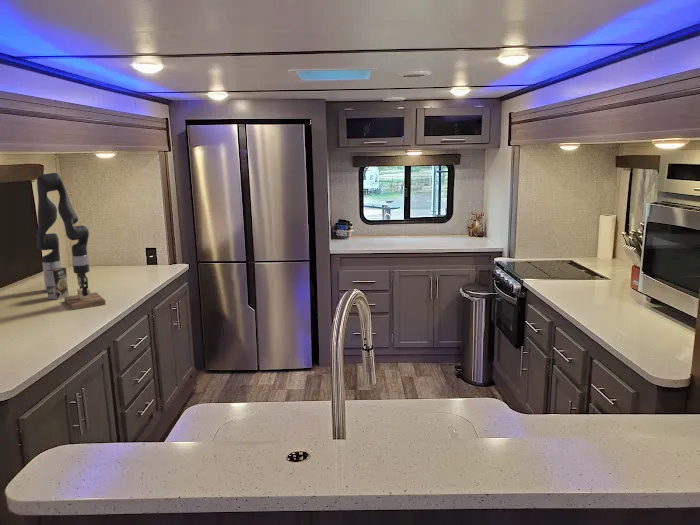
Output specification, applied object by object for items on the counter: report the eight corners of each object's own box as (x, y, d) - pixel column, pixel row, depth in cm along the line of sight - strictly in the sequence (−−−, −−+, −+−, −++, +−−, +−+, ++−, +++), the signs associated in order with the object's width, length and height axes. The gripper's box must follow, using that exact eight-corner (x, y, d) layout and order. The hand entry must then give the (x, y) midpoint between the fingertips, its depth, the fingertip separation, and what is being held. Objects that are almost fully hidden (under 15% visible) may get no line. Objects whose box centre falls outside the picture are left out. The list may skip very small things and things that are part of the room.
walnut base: (64, 301, 297) (64, 296, 297) (96, 296, 307) (95, 292, 306) (72, 309, 282) (71, 304, 281) (105, 304, 291) (105, 299, 291)
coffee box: (58, 299, 300) (54, 271, 297) (47, 299, 302) (44, 270, 298) (69, 295, 309) (66, 267, 306) (59, 294, 310) (56, 267, 307)
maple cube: (78, 298, 294) (77, 289, 293) (88, 296, 297) (87, 287, 296) (80, 300, 290) (79, 290, 289) (90, 298, 293) (89, 289, 292)
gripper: (70, 262, 293) (73, 292, 297) (75, 266, 282) (79, 298, 286) (85, 260, 298) (88, 290, 301) (91, 265, 287) (94, 296, 290)
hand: (83, 294), depth 293 cm, fingers open, 5 cm apart
